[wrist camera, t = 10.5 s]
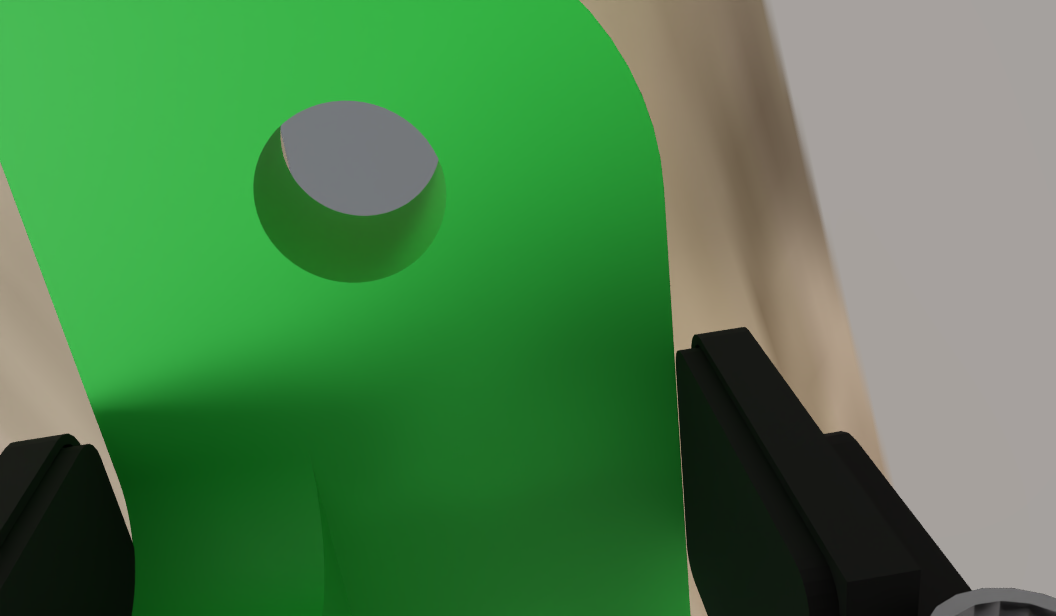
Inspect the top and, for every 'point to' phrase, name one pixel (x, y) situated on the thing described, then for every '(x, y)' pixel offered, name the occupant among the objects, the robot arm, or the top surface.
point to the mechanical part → (360, 304)
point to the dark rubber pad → (357, 157)
